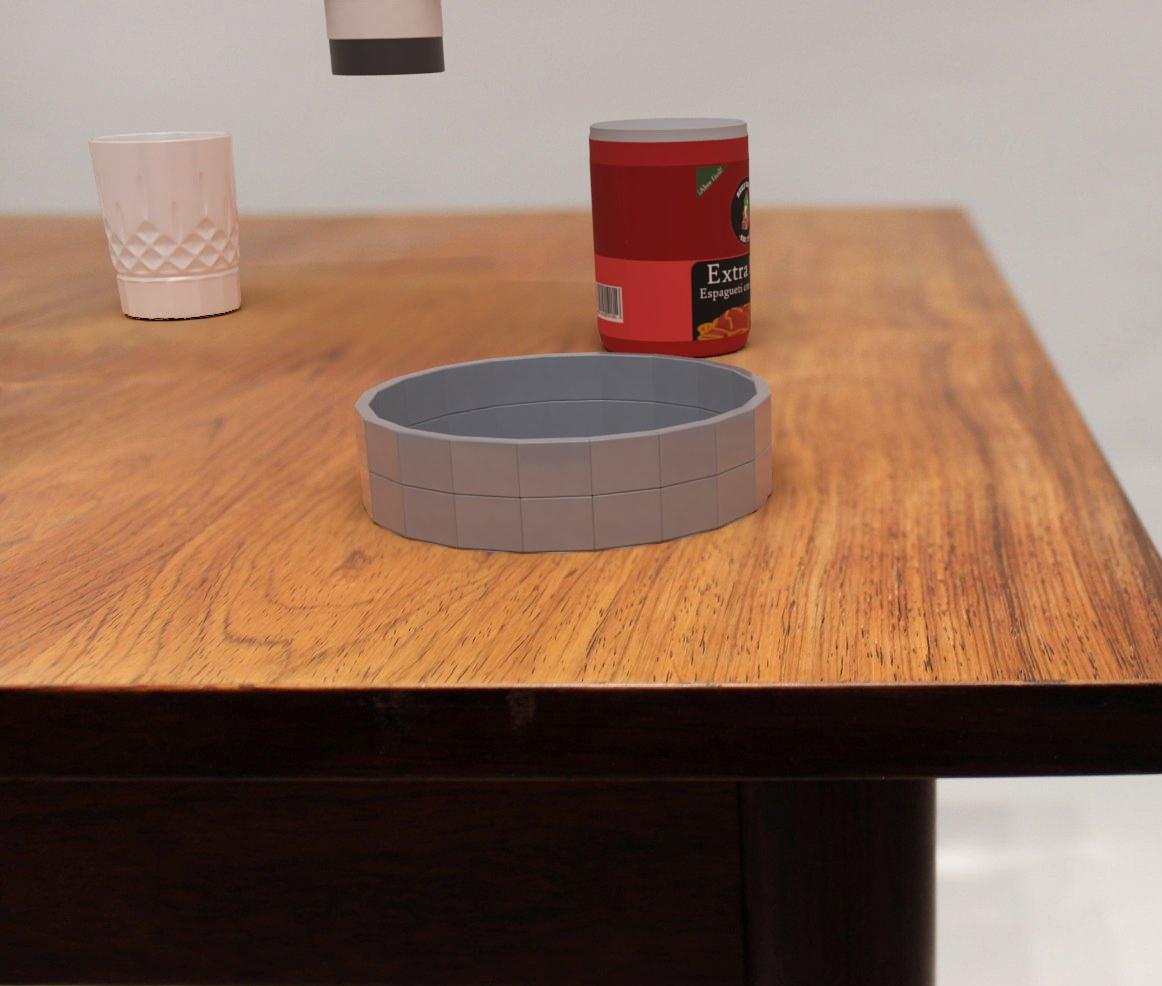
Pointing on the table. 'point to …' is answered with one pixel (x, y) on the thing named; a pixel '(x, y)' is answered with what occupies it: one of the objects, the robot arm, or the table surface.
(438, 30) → the container
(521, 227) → the table surface
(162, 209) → the white cup
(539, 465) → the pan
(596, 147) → the canned food
